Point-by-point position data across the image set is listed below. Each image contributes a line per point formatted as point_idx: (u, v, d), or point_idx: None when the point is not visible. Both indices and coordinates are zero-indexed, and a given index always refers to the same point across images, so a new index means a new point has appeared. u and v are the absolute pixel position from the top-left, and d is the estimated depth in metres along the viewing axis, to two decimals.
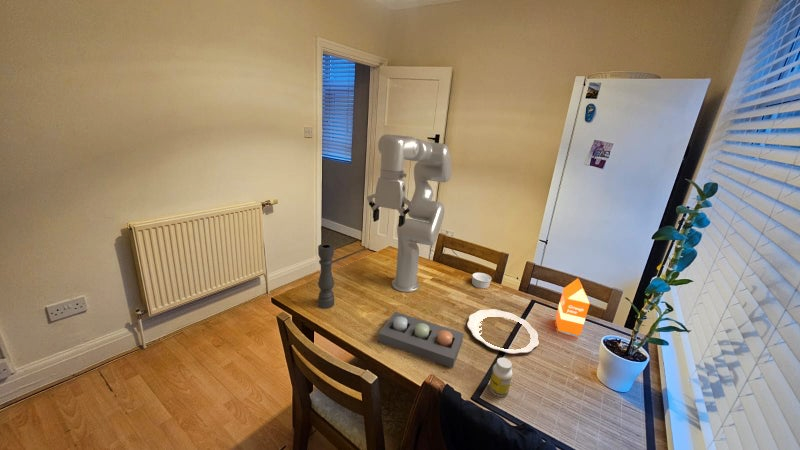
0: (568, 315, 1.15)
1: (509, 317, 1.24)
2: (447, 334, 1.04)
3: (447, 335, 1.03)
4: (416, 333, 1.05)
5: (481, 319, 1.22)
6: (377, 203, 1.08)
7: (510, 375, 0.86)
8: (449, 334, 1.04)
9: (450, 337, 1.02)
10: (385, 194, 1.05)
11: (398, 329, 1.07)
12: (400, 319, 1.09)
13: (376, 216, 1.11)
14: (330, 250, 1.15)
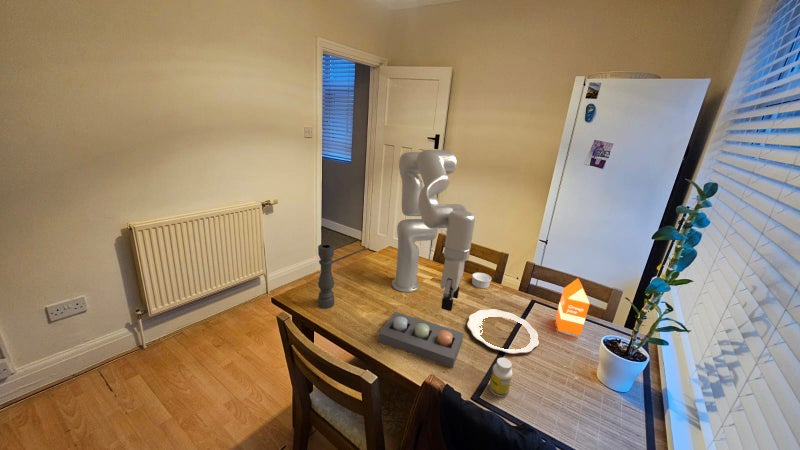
0: (568, 315, 1.15)
1: (509, 317, 1.24)
2: (447, 334, 1.04)
3: (447, 335, 1.03)
4: (416, 333, 1.05)
5: (481, 319, 1.22)
6: (456, 288, 0.93)
7: (510, 375, 0.86)
8: (449, 334, 1.04)
9: (450, 337, 1.02)
10: (461, 273, 0.94)
11: (398, 329, 1.07)
12: (400, 319, 1.09)
13: None
14: (330, 250, 1.15)
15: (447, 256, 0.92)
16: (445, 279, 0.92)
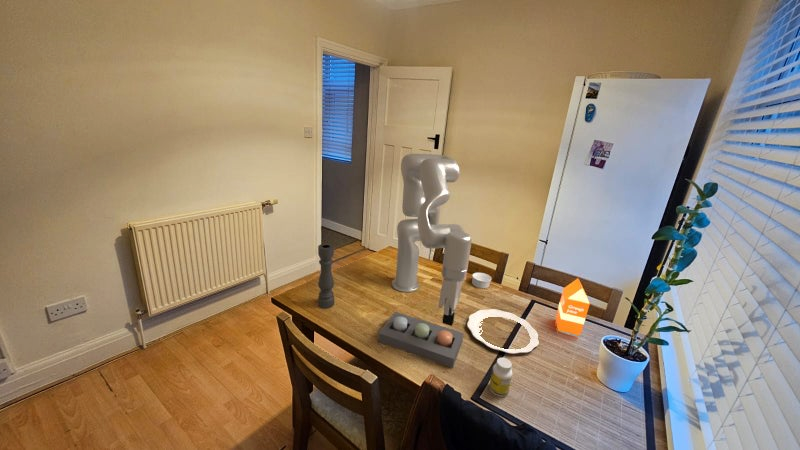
0: (568, 315, 1.15)
1: (509, 317, 1.24)
2: (447, 334, 1.04)
3: (447, 335, 1.03)
4: (416, 333, 1.05)
5: (481, 319, 1.22)
6: (454, 308, 0.95)
7: (510, 375, 0.86)
8: (449, 334, 1.04)
9: (450, 337, 1.02)
10: (459, 293, 0.96)
11: (398, 329, 1.07)
12: (400, 319, 1.09)
13: None
14: (330, 250, 1.15)
15: (445, 276, 0.94)
16: (443, 299, 0.94)
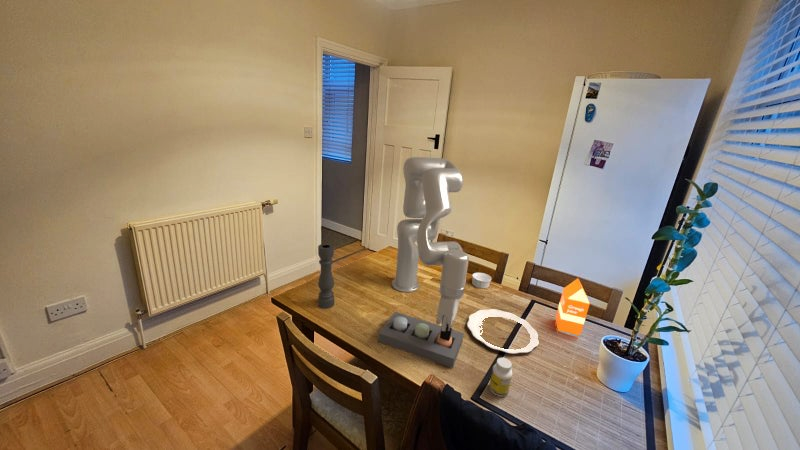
0: (568, 315, 1.15)
1: (509, 317, 1.24)
2: None
3: None
4: (416, 333, 1.05)
5: (481, 319, 1.22)
6: (451, 324, 0.97)
7: (510, 375, 0.86)
8: None
9: (450, 340, 1.03)
10: (456, 309, 0.98)
11: (398, 329, 1.07)
12: (400, 319, 1.09)
13: None
14: (330, 250, 1.15)
15: (442, 294, 0.96)
16: (440, 316, 0.96)
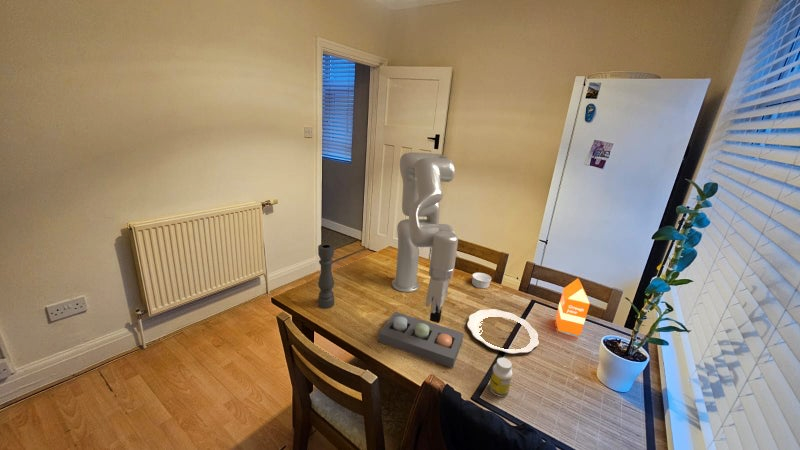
0: (568, 315, 1.15)
1: (509, 317, 1.24)
2: (447, 337, 1.04)
3: (447, 338, 1.04)
4: (416, 333, 1.05)
5: (481, 319, 1.22)
6: (441, 306, 0.97)
7: (510, 375, 0.86)
8: (449, 337, 1.04)
9: (449, 340, 1.03)
10: (446, 291, 0.98)
11: (398, 329, 1.07)
12: (400, 319, 1.09)
13: None
14: (330, 250, 1.15)
15: (432, 275, 0.96)
16: (430, 297, 0.96)
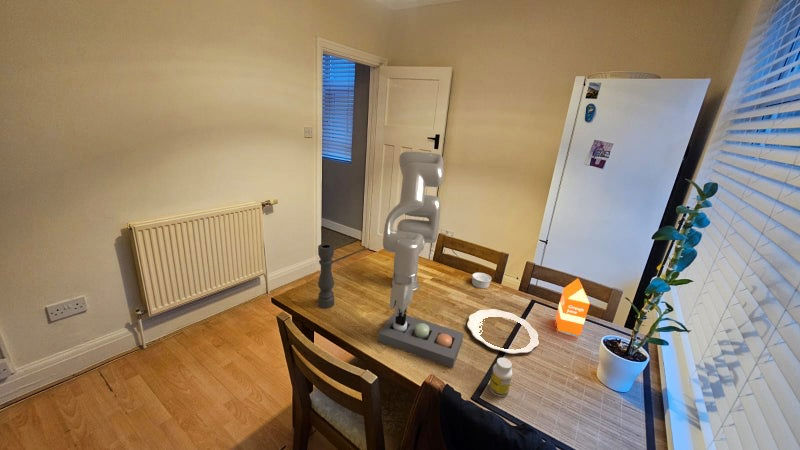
0: (567, 315, 1.15)
1: (509, 317, 1.24)
2: (447, 337, 1.04)
3: (447, 338, 1.04)
4: (416, 333, 1.05)
5: (481, 319, 1.22)
6: (403, 309, 1.02)
7: (510, 375, 0.86)
8: (449, 337, 1.04)
9: (449, 340, 1.03)
10: (409, 295, 1.04)
11: None
12: None
13: None
14: (330, 250, 1.15)
15: (394, 280, 1.01)
16: (393, 301, 1.01)
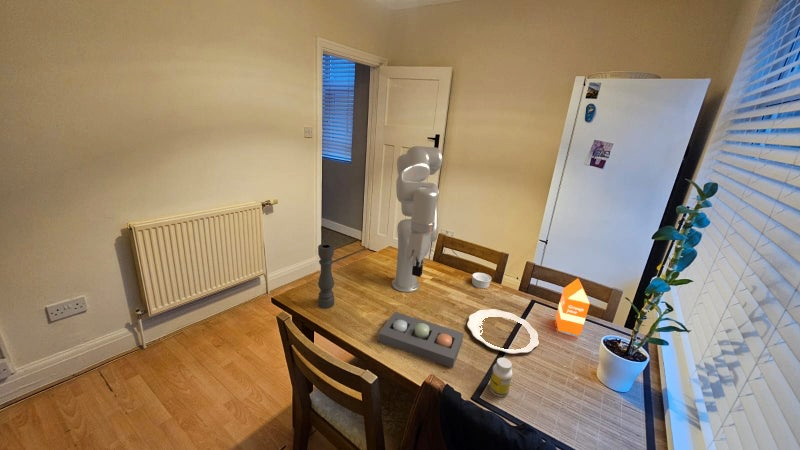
0: (568, 315, 1.15)
1: (509, 317, 1.24)
2: (447, 337, 1.04)
3: (447, 338, 1.04)
4: (416, 333, 1.05)
5: (481, 319, 1.22)
6: (421, 259, 1.02)
7: (510, 375, 0.86)
8: (449, 337, 1.04)
9: (449, 340, 1.03)
10: (426, 246, 1.03)
11: None
12: (399, 323, 1.10)
13: None
14: (330, 250, 1.15)
15: (412, 229, 1.00)
16: (410, 250, 1.01)
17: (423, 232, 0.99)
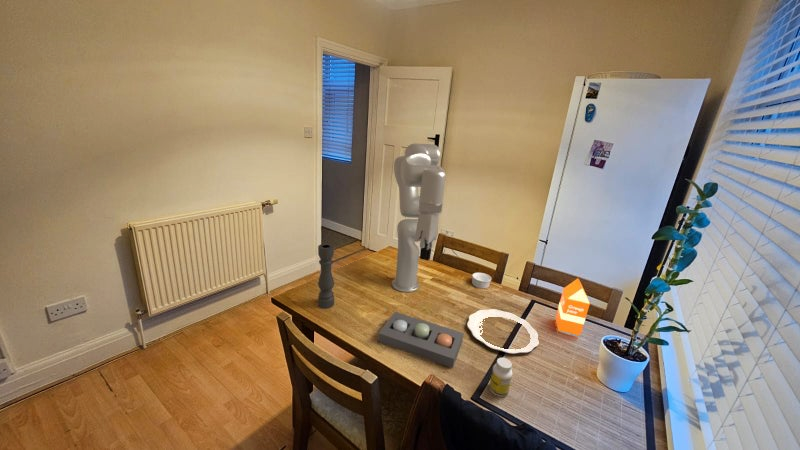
0: (568, 315, 1.15)
1: (509, 317, 1.24)
2: (447, 337, 1.04)
3: (447, 338, 1.04)
4: (416, 333, 1.05)
5: (481, 319, 1.22)
6: (429, 241, 1.01)
7: (510, 375, 0.86)
8: (449, 337, 1.04)
9: (449, 340, 1.03)
10: (434, 227, 1.02)
11: None
12: (399, 323, 1.10)
13: None
14: (330, 250, 1.15)
15: (421, 210, 1.00)
16: (419, 232, 1.00)
17: (432, 212, 0.99)
